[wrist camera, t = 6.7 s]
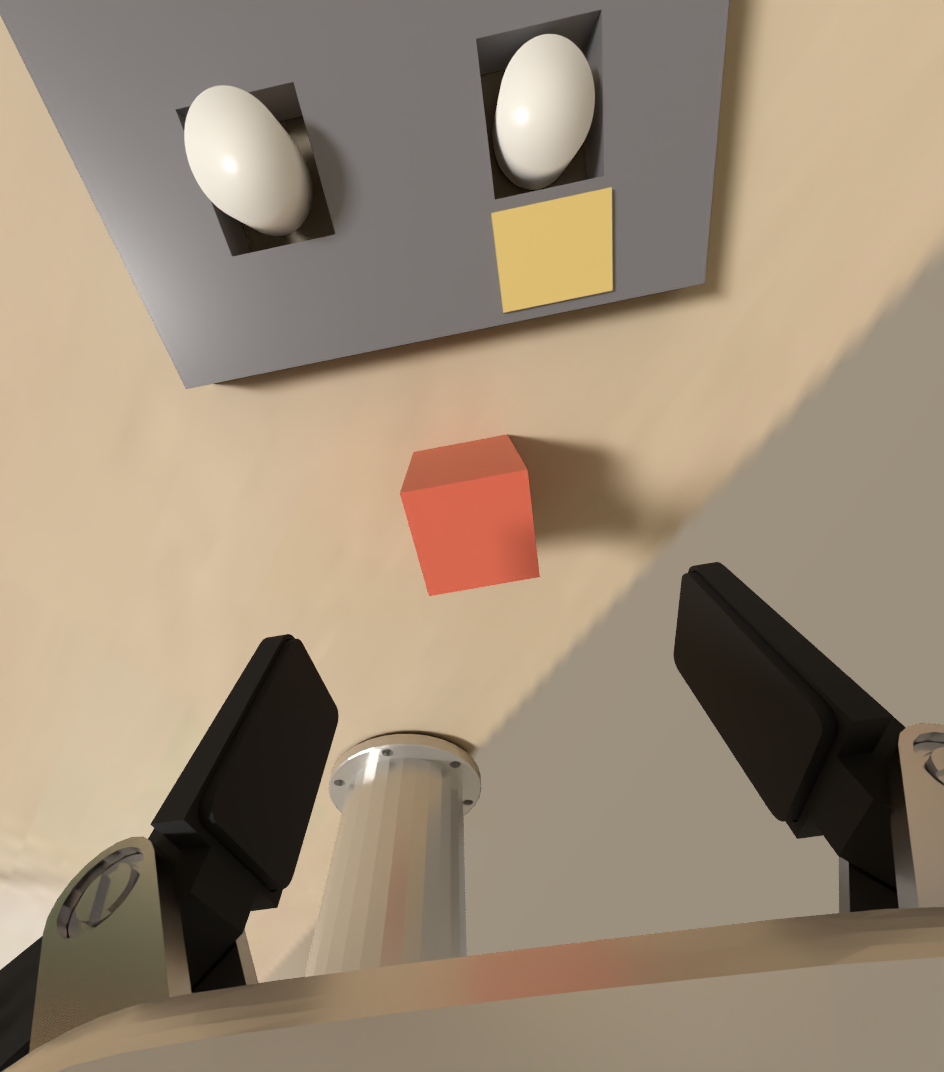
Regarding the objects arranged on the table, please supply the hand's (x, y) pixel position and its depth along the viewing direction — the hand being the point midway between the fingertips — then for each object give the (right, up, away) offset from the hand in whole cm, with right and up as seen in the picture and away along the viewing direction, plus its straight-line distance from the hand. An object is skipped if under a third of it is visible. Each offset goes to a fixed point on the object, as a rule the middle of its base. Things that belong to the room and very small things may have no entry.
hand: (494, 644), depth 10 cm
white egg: (-8, +15, +4) cm, 18 cm away
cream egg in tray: (+2, +18, +5) cm, 19 cm away
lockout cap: (-1, +5, +12) cm, 13 cm away
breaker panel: (-3, +18, +5) cm, 19 cm away
